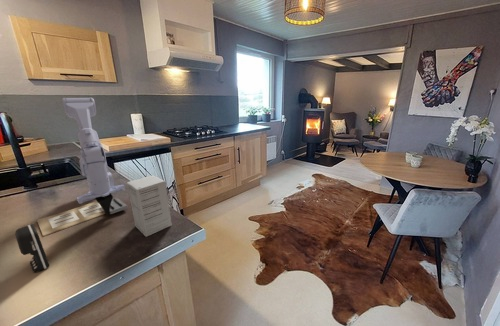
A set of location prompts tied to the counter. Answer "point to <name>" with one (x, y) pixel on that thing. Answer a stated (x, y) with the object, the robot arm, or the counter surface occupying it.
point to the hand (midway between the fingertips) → (107, 213)
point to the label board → (70, 218)
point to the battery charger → (32, 247)
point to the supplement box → (149, 204)
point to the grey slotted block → (117, 206)
